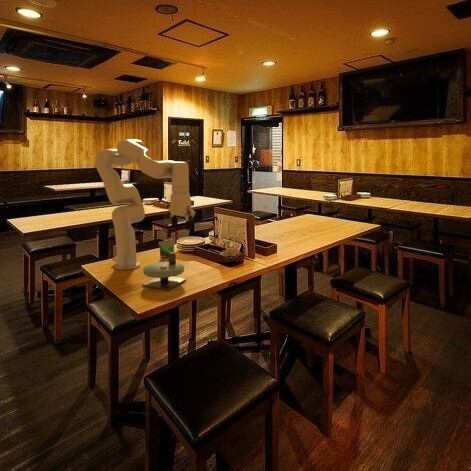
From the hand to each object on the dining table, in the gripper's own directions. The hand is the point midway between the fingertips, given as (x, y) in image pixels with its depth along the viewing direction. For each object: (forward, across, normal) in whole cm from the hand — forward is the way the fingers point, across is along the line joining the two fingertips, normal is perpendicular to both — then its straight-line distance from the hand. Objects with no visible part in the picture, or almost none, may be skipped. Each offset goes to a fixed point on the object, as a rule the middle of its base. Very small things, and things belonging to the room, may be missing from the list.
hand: (181, 227), depth 167 cm
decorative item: (+25, -2, +35) cm, 43 cm away
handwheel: (+19, -2, -10) cm, 21 cm away
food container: (+25, -33, +19) cm, 46 cm away
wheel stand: (+25, -2, -10) cm, 27 cm away
